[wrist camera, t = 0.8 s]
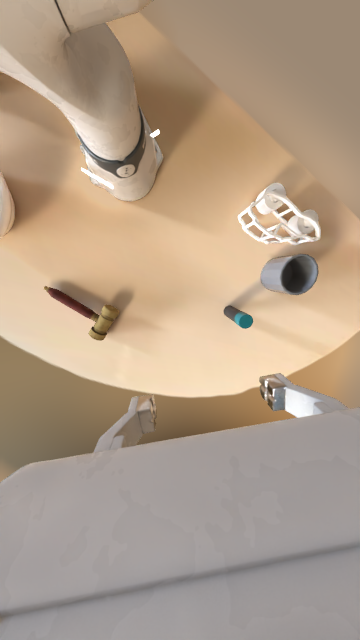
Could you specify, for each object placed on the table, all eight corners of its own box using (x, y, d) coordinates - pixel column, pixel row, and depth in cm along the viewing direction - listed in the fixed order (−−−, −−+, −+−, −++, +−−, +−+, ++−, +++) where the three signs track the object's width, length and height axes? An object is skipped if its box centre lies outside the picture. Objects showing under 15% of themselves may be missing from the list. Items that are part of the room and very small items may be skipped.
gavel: (30, 303, 47) (45, 271, 45) (43, 301, 52) (57, 271, 50) (99, 342, 50) (116, 314, 48) (106, 337, 55) (121, 311, 53)
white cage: (310, 226, 50) (333, 219, 43) (286, 261, 53) (305, 259, 45) (255, 184, 47) (271, 168, 40) (233, 224, 49) (244, 215, 42)
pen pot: (257, 263, 52) (277, 261, 43) (289, 252, 52) (316, 248, 43) (263, 295, 55) (283, 299, 46) (294, 285, 55) (319, 287, 46)
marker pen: (222, 307, 55) (237, 317, 43) (233, 303, 55) (251, 312, 43) (224, 317, 56) (240, 330, 44) (235, 314, 56) (254, 325, 44)
